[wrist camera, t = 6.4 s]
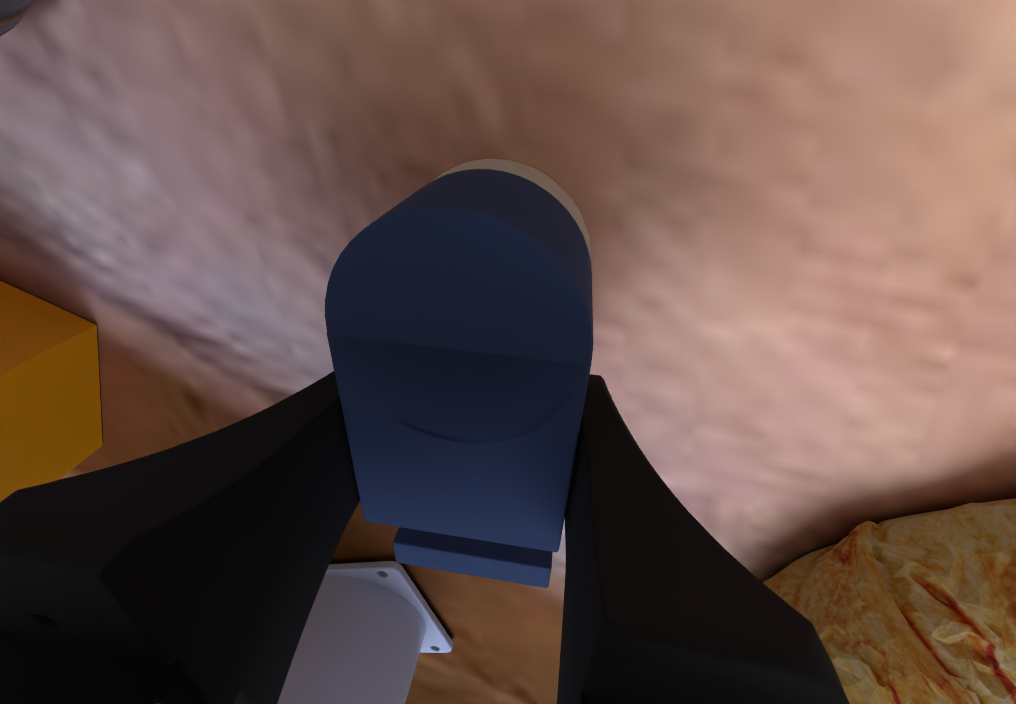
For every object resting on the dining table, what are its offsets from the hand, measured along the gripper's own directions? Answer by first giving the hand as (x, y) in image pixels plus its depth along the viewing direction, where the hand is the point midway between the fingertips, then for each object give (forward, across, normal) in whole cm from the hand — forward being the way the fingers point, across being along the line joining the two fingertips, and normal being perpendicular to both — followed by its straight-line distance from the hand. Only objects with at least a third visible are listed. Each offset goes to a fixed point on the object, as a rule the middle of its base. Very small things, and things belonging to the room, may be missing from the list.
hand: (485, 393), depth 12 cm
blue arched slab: (+1, 0, 0) cm, 1 cm away
